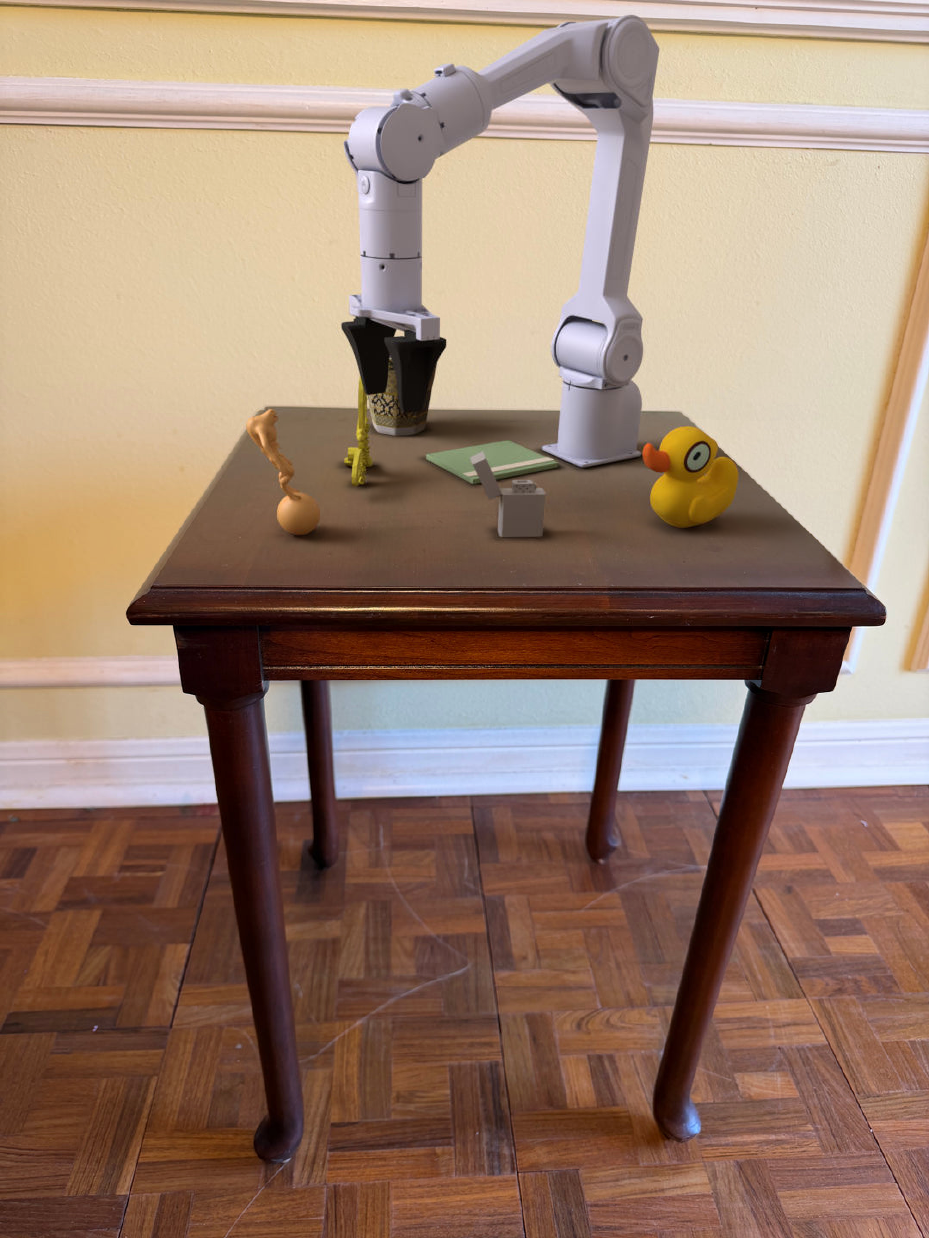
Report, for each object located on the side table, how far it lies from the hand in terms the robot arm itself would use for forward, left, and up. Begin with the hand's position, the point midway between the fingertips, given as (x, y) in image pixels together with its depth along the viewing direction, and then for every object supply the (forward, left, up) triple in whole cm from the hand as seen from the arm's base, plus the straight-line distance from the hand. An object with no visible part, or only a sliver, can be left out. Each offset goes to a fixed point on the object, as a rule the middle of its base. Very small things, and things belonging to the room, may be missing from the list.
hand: (392, 402), depth 88 cm
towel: (-15, -4, -10) cm, 19 cm away
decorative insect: (+2, -6, -10) cm, 12 cm away
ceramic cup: (-12, -20, -10) cm, 26 cm away
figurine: (+13, +4, -10) cm, 17 cm away
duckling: (-21, +21, -10) cm, 32 cm away
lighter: (-4, +14, -10) cm, 18 cm away
